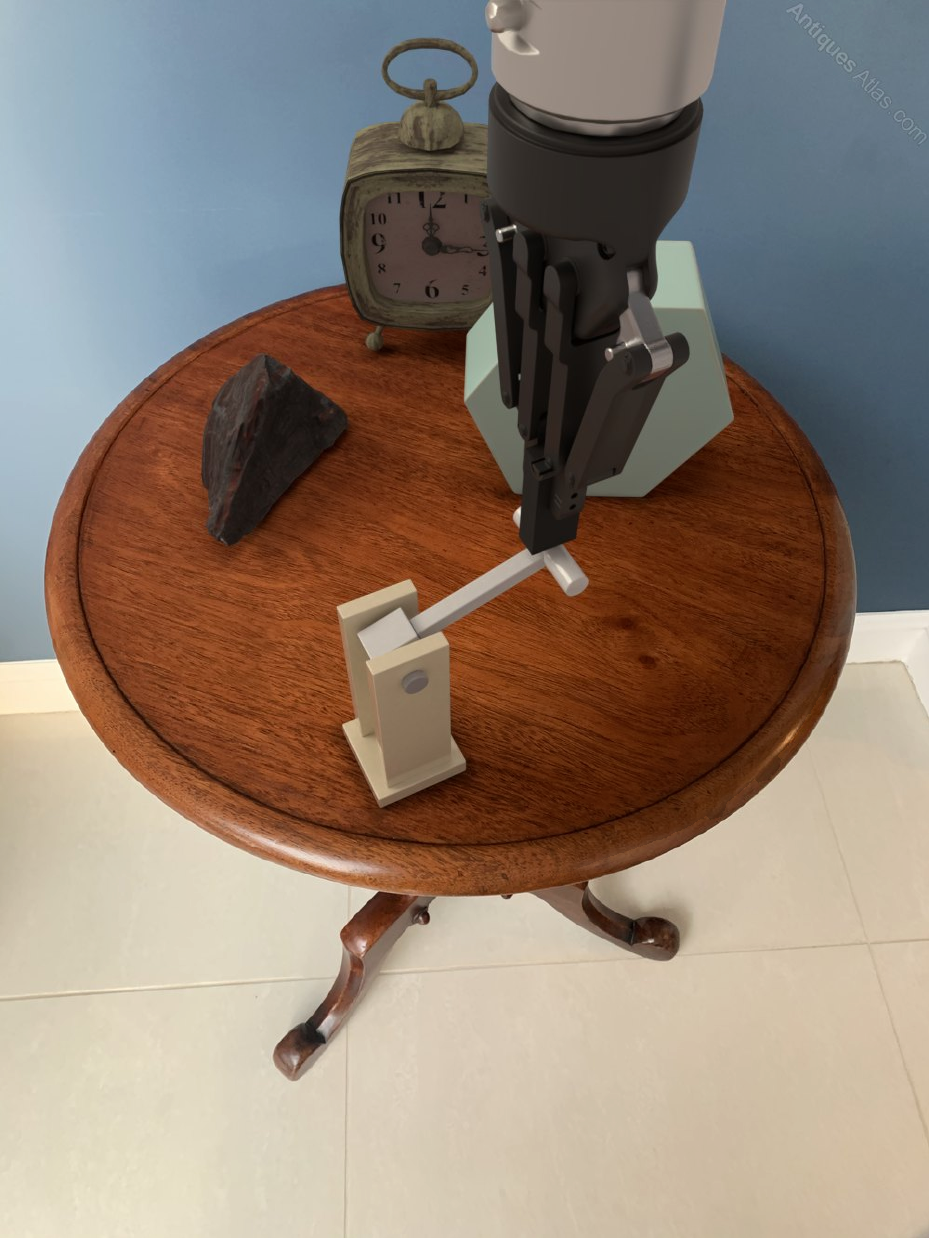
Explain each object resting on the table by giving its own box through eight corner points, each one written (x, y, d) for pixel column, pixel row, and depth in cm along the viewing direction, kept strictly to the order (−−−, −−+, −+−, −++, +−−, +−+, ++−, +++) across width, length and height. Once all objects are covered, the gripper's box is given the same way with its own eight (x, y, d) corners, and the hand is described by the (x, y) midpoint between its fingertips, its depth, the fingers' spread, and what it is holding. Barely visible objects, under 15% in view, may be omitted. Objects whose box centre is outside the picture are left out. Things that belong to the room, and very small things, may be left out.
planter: (593, 469, 85) (776, 300, 71) (598, 536, 80) (795, 369, 66) (428, 381, 78) (595, 173, 64) (423, 449, 73) (602, 240, 59)
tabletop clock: (352, 362, 86) (319, 64, 66) (361, 300, 92) (333, 7, 72) (515, 365, 86) (533, 67, 66) (515, 303, 92) (530, 10, 71)
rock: (359, 423, 81) (349, 332, 74) (232, 568, 72) (206, 480, 65) (286, 395, 84) (269, 304, 76) (154, 533, 74) (120, 444, 67)
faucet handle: (538, 517, 56) (529, 494, 54) (592, 591, 53) (585, 568, 51) (358, 628, 56) (343, 608, 54) (401, 708, 53) (386, 690, 51)
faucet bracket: (426, 698, 65) (419, 566, 54) (466, 770, 62) (467, 645, 51) (343, 733, 64) (318, 604, 53) (380, 808, 61) (362, 688, 49)
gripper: (419, 30, 36) (432, 482, 55) (603, 204, 29) (546, 652, 48) (593, -7, 38) (548, 441, 57) (803, 147, 31) (673, 599, 50)
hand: (547, 537), depth 53 cm, fingers closed
